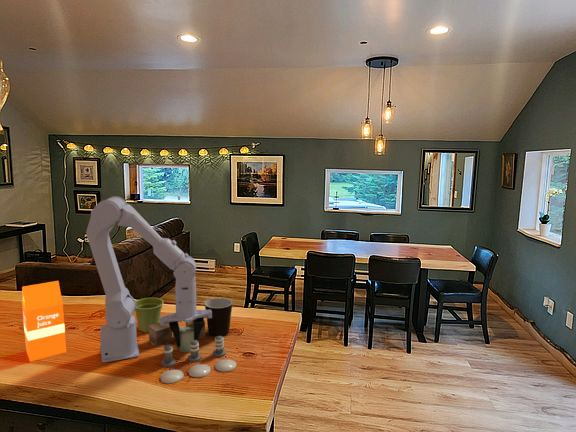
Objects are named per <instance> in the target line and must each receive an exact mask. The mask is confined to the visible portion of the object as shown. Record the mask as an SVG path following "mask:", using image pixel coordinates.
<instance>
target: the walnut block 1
mask: <svg viewBox="0 0 576 432" xmlns="http://www.w3.org/2000/svg"><path fill="white" fill-rule="evenodd" d="M148 341H149V342H150V343H151V344H153V346H154V347H156V348H157V347H161V346H165V345H168V344H170V343H172V342H173V332H172V331H171V329H170V326H169V324H164V325H162V326H160V321H159V323H156V324H153V325H149V332H148Z"/></svg>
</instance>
